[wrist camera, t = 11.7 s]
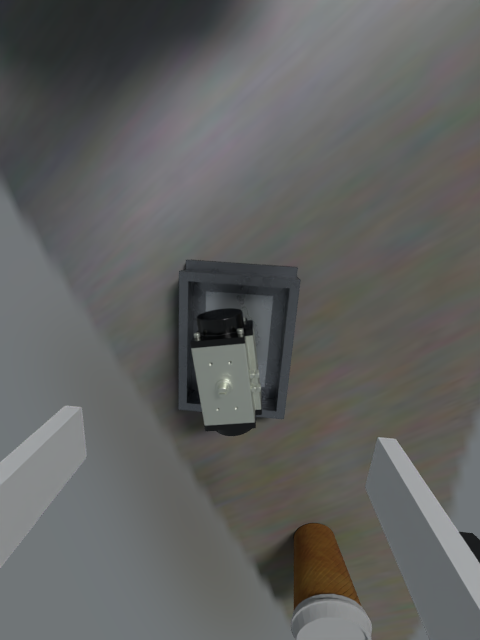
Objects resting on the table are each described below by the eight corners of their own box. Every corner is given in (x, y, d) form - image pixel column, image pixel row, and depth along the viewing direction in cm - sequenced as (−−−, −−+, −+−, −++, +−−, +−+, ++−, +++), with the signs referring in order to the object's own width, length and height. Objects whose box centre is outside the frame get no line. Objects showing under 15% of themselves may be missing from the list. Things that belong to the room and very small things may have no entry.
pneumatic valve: (221, 387, 37) (205, 452, 25) (208, 299, 34) (183, 329, 22) (264, 384, 37) (266, 449, 25) (254, 295, 34) (252, 322, 22)
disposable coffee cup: (285, 561, 46) (294, 668, 34) (281, 515, 43) (289, 614, 32) (345, 560, 45) (375, 670, 34) (344, 513, 43) (376, 614, 31)
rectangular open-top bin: (188, 259, 34) (179, 261, 30) (296, 266, 33) (301, 270, 30) (186, 399, 39) (178, 416, 35) (280, 407, 39) (283, 426, 35)
